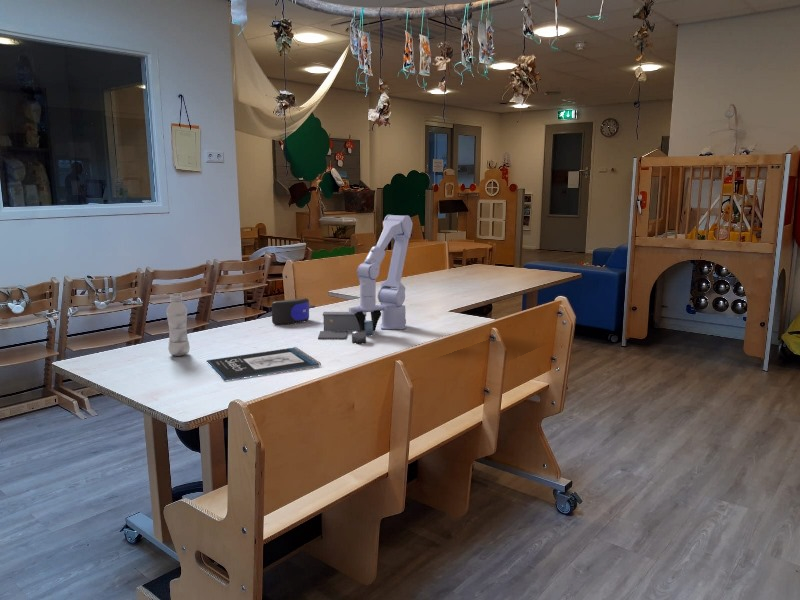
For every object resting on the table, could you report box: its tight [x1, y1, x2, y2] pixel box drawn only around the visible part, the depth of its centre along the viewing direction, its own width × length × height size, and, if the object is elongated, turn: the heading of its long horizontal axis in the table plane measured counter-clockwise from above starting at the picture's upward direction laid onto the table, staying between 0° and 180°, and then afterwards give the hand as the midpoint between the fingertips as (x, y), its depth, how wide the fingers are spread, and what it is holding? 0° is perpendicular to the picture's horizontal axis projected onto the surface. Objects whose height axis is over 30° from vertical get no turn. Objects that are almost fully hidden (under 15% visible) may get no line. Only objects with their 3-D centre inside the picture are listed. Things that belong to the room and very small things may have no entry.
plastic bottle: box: [165, 293, 190, 357], centre depth 196 cm, size 6×7×20 cm
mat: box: [317, 330, 348, 340], centre depth 225 cm, size 10×10×1 cm
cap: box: [351, 330, 367, 345], centre depth 216 cm, size 5×5×4 cm
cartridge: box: [364, 319, 374, 337], centre depth 227 cm, size 4×4×5 cm
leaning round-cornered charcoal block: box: [271, 297, 310, 326], centre depth 244 cm, size 16×5×9 cm, turn 125°
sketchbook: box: [206, 346, 322, 382], centre depth 189 cm, size 22×30×2 cm
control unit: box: [322, 311, 367, 332], centre depth 234 cm, size 17×5×7 cm, turn 92°
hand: (367, 330), depth 227 cm, fingers closed on cartridge, 4 cm apart
